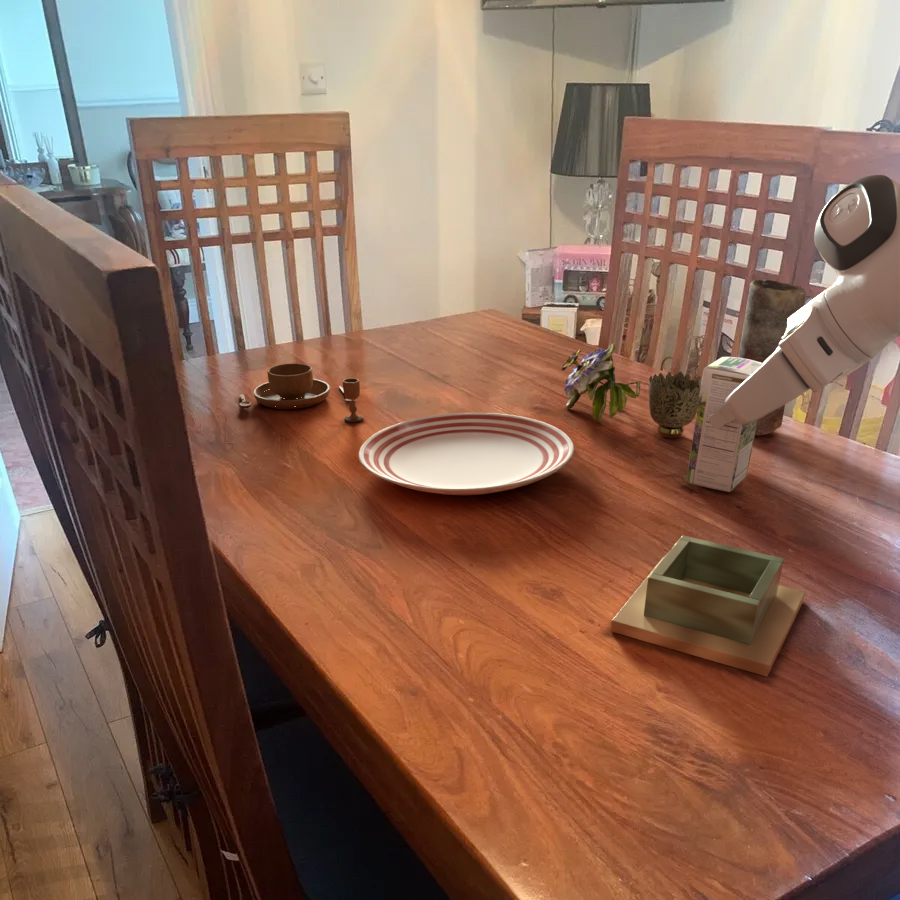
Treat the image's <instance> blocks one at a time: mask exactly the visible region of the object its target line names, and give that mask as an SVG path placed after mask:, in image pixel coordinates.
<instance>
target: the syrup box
mask: <svg viewBox="0 0 900 900" xmlns="http://www.w3.org/2000/svg"><path fill="white" fill-rule="evenodd" d="M762 364H763V363H761V362H757V361H753V360H749V359H744V358H738V356H736V357H735V356H721V357H720V358H718V359H716V360H715V361H713V362H712V363H710V364H708V365H706V366H705V367H704V368H703V371H702V377H701V380H702V383H701V389H700V395H699V402H698V408H697V413H696V415H695V423H694V428H693V435H692V441H691V449H690V453H689V460H688V466H687V472H686V479H685V481H686V483H688V484H691V485H694V486H698V487H699V486H700V487H702V488H703V487H704V488H708V489H713V490H717V491H721V492H727V493H731V492H732V491H734V490H735V488H736V487H738V486H739V485H740V484H741V483H742V482H743V481H744V480H745V479H747V476H748V472H749V466H750V461H751V456H752V450H753V446H754V442H755V441H754V440H755V436H756V435H755V431H756V426H757V421H758V420H756V421H754V422H752V423H749V424H747V425H742V424H740V423H739V422H738V420H737V419H735V420H733V421H731V422H729V423H727V424H726V425H724V426H723V427H721V428H720V429H715V428H714V427H713V426H712V425H711V423H710V422H709V417H710V416H711V415H712V414H713V413H714V412H716V411H717V410H719V409H720V408H721V407H723V406H724V405H725V400H726V398H727V397H728V396H729V395H730V394H731V393H732V392H733V391H734V390H735V389H736V388H737V387H738V386H739V385H740V384H741V383H742V382H743V381H745V380H746V379H747V378H748V377H749V376H750V375H751V374H752V373H753V372H754V371H756V370H757V369H758V368H759V367H760V366H761V365H762Z"/></svg>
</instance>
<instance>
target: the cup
mask: <svg viewBox="0 0 900 900" xmlns="http://www.w3.org/2000/svg"><path fill="white" fill-rule="evenodd" d="M701 383H702V377H700V376H697V377H696V378H695V380H694V379H690V374H689V373H686V374H685V375H684V373H683V372H682V371H678V372H676V373H675V374H673V375H672V373H671V372H670V371H668V372H667V373H666V375H665V376H664V374H663V373H662V372H659V373H658V374H657V373H655V374H653V376H652V375H649V378H648V407H649V414H650V418H652V420H653V421H654V423H656V424H657V425H658V426H657V428H656V430H657V433H658V435H659V436H661V437H663V438H666V439H676V438H680V437H682V435H683V434H684V432H685V427H686V426H687V425H689V424H690V423H692V422H693V421H694V419H695V418H696V414H697V408H698V402H699V395H700V389H701Z"/></svg>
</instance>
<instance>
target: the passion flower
mask: <svg viewBox="0 0 900 900" xmlns="http://www.w3.org/2000/svg"><path fill="white" fill-rule="evenodd" d="M615 349H616V343H611V344H609V346H608V348H607V349H604V347H601V348H598V349H597V350H596V349H595V350H594V351H591V352H590V353H587V354H586V356H584V355H583V356H582V360H581V362H580V363H579V362H578V358H579V356H580V353H582V349H581V348H579V349H578V350H576V351H574V353H572V354H571V355H569V357H568V359H567V360H566V361H564V363H563V365H562V367H561V368H560V369H561V370H560V371H561V372H562V371H565V370H566V369H567V368H568V367H570V366H572V365H575V366H574V367H573V369H572V372H571V373H570V374H569V375H568V377H566V378H565V380H564V382H565V386H564V388H563V391H564V394H565V396H566V397H568V401H567V403H566V404H565V406H564V407H565V408H566V409H572V408H573V407H575V405H576V403H577V402H578V401H579V400H580V398H581V396H582V395H584V394H586V393H588V394H587V396H588V398H589V400H590V401H592V416H593V420H595V421H597V422H598V424H601V423H602V417H603V414H604V412H605V410H606V407H607V398H608V396H607V393H608V391H609V399H610V400H609V404H608V406H609V408H608V411H609V419H612V418H613V417H615V416H616V415H617V414H618V413H621V412H622V411H623V410H624V409H625V407H626V405H627V401H628V397H629V398H632V399H637V397H639V396H640V393H641V392H640V391H641V383H642V380H638V381H633V382H629V383H623V382H616V374H615V370H616V367H615V366H614V358H613V353H614V351H615ZM603 380H606V381H605V383H604V382H602V381H603ZM599 384H601V385H599ZM635 384H636V387H635V388H636V390H635V391H634V390H633V389H632V387H630V385H635ZM598 385H599V386H598Z"/></svg>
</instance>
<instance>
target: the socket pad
mask: <svg viewBox="0 0 900 900" xmlns="http://www.w3.org/2000/svg"><path fill="white" fill-rule="evenodd" d="M784 563H785V558H784V557H779V556H775V555H770V554H766V553H761V552H758V551H753V550H749V549H743V548H740V547H735V546H731V545H726V544H722V543H718V542H713V541H709V540H705V539H701V538H696V537H692V536H687V535H682V536H681V537H680V538H679V539H678V540H677V541H676V543H675V544H674V545H673V546H672V547H671V548H670V550H669V551H668V552H667V553H666V555H664V556H663V557H661V559H660V560H659V562H658V563H657V564H656V565H655V566H654V567H653V569H652V570H651V572H650V573H649V574H648V575H647V576H646V577H645V579H644V580H643V581H642V582H641V584H640V585H639V586H638V588H637V589H636V590H635V591H634V592H633V593H632V595H631V596H630V597H629V599H628V600H627V601H626V602H625V604H624V605H622V607H621V608H620V610H619V611H618V612H617V613H616V615H615V616H614V617H613V618H612V619H611V623H610V632H611V633H615V634H619V635H622V636H626V637H629V638H632V639H635V640H639V641H643V642H646V643H649V644H652V645H656V646H660V647H662V648H667V649H670V650H674V651H677V652H679V653H683V654H687V655H691V656H695V657H698V658H701V659H704V660H708V661H711V662H715V663H718V664H721V665H726V666H729V667H731V668H735V669H739V670H743V671H746V672H748V673H749V672H750V673H753V674H756V675H759V676H763V677H768V676H769V674H770V672H771V670H772V668H773V665H774V664H775V662H776V659H777V657H778V655H779V653H780V651H781V649H782V647H783V646H784V643H785V641H786V638H787V637H788V635H789V633H790V630H791V628H792V626H793V625H794V623H795V620H796V618H797V615H798V614H799V612H800V609H801V607H802V606H803V604H804V600H805V596H806V591H804V590H802V589H798V588H793V587H789V586H784V585H781V584H780V580H781V575H782V571H783V566H784Z"/></svg>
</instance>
